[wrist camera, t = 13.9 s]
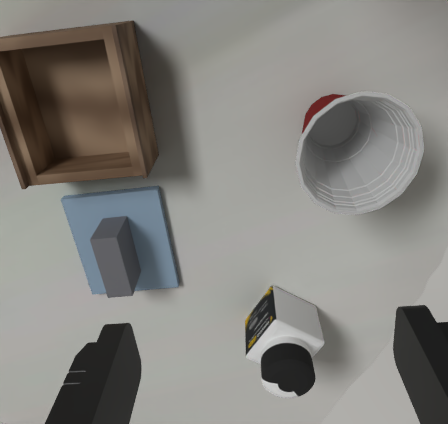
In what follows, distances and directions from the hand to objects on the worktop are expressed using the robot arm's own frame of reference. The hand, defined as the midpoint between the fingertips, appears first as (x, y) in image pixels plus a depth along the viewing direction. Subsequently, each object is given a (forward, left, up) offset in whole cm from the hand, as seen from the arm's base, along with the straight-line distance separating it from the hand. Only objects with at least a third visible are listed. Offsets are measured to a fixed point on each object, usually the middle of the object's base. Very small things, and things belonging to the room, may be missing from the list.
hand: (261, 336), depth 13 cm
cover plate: (+17, -17, -37) cm, 44 cm away
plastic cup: (+4, +9, -36) cm, 38 cm away
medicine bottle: (+30, +2, -36) cm, 47 cm away
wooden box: (-1, -17, -36) cm, 40 cm away
